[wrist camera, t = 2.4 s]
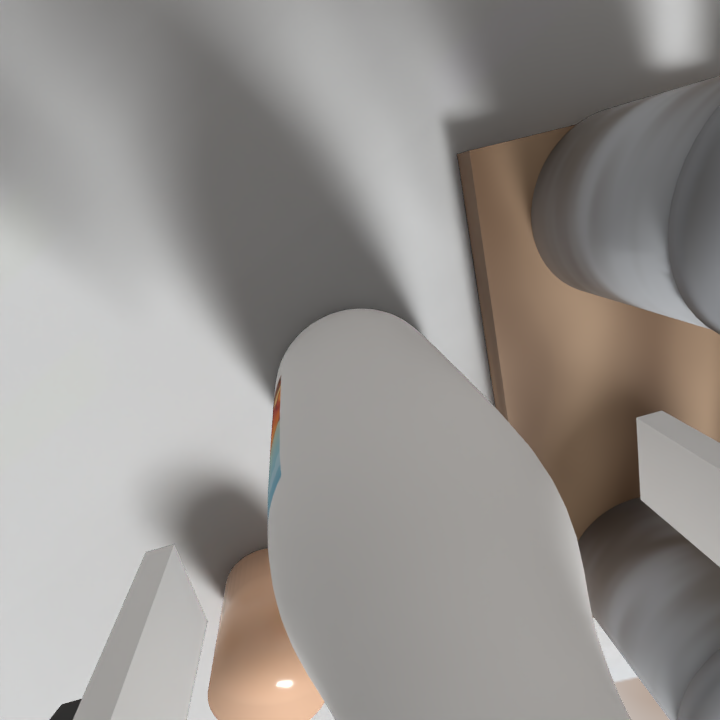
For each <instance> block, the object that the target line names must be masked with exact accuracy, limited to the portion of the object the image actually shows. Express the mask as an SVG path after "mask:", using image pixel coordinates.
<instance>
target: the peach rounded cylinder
mask: <svg viewBox="0 0 720 720" xmlns="http://www.w3.org/2000/svg"><path fill="white" fill-rule="evenodd" d="M208 702H209V706H210V709H211V711H212V712H213V714H214V716H215V717H216V718H217V719H218V720H310V719H311V718H312V717H313V716H314V715H315V714H316V713H317V712H318V711H319V710H320V708H321V707H322V705H323V704H324V700H323V699H322V697H321V695H320V694H319V692H318V690H317V689H316V687H315V686H314V684H313V682H312V681H311V679H310V678H309V676H308V674H307V673H306V671H305V669H304V667H303V665H302V664H301V662H300V660H299V658H298V656H297V654H296V652H295V651H294V649H293V647H292V644H291V642H290V639H289V637H288V635H287V632H286V630H285V627H284V624H283V622H282V619H281V616H280V613H279V609H278V605H277V602H276V598H275V594H274V590H273V585H272V578H271V571H270V563H269V554H268V548H266V549H262V550H258V551H255V552H253V553H251V554H249V555H247V556H245V557H244V558H242V559H241V560H240V561H239V562H238V563H237V564H236V565H235V566H234V567H233V568H232V570H231V571H230V573H229V575H228V578H227V580H226V586H225V592H224V598H223V604H222V610H221V616H220V622H219V628H218V634H217V640H216V646H215V652H214V658H213V665H212V671H211V677H210V683H209V689H208Z"/></svg>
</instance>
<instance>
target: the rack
mask: <svg viewBox="0 0 720 720" xmlns="http://www.w3.org/2000/svg"><path fill="white" fill-rule="evenodd" d="M457 157H458V163H459V170H460V176H461V183H462V190H463V196H464V203H465V209H466V216H467V223H468V229H469V236H470V242H471V249H472V255H473V262H474V269H475V275H476V282H477V288H478V295H479V302H480V308H481V315H482V321H483V328H484V335H485V341H486V348H487V354H488V361H489V367H490V374H491V381H492V387H493V394H494V400H495V407H496V409H497V410H498V411H499V412H500V413H501V414H502V415H503V416H504V418H505V419H506V420H507V421H508V422H509V423H510V425H511V426H512V427H513V428H514V429H515V430H516V431H517V433H518V434H519V435H520V436H521V437H522V438H523V439H524V441H525V442H526V443H527V444H528V445H529V446H530V448H531V449H532V450H533V452H534V453H535V455H536V456H537V458H538V459H539V461H540V462H541V464H542V465H543V467H544V468H545V470H546V471H547V473H548V474H549V476H550V477H551V479H552V480H553V482H554V484H555V486H556V488H557V490H558V492H559V494H560V496H561V498H562V500H563V502H564V504H565V506H566V509H567V512H568V514H569V517H570V520H571V523H572V526H573V529H574V531H575V534H576V537H577V541H578V546H579V550H580V555H581V559H582V564H583V568H584V574H585V580H586V585H587V591H588V597H589V602H590V608H591V613H592V617H594V618H595V619H596V621H597V622H598V623H599V625H600V626H601V627H602V629H603V630H604V631H605V633H606V634H607V635H608V637H609V638H610V640H611V641H612V642H613V644H614V645H615V646H616V648H617V649H618V650H619V652H620V653H621V654H622V656H623V657H624V658H625V660H626V661H627V663H628V664H629V665H630V667H631V668H632V669H633V671H634V672H635V673H636V675H637V676H638V677H639V679H640V680H641V682H642V683H643V684H644V686H645V687H646V688H647V690H648V691H649V692H650V694H651V695H652V696H653V698H654V699H655V700H656V702H657V703H658V705H659V706H660V707H661V709H662V710H663V711H664V713H665V714H666V715H667V717H668V718H669V719H670V720H720V567H719V566H718V565H717V564H715V563H714V562H713V561H712V560H711V559H710V558H708V557H707V556H706V555H705V554H704V553H703V552H701V551H700V550H699V549H698V548H697V547H696V546H694V545H693V544H692V543H691V542H690V541H689V540H687V539H686V538H685V537H684V536H683V535H682V534H680V533H679V532H678V531H677V530H676V529H675V528H673V527H672V526H671V525H670V524H669V523H667V522H666V521H665V520H664V519H663V518H662V517H660V516H659V515H658V514H657V513H656V512H655V511H653V510H652V509H651V508H650V507H649V506H648V505H646V504H645V503H644V502H643V501H642V500H641V498H640V479H639V460H638V441H637V422H636V418H637V417H640V416H644V415H648V414H651V413H655V412H658V411H664V412H665V413H667V414H669V415H671V416H673V417H674V418H676V419H678V420H680V421H682V422H683V423H685V424H687V425H689V426H690V427H692V428H694V429H696V430H698V431H699V432H701V433H703V434H705V435H707V436H708V437H710V438H712V439H714V440H715V441H717V442H719V443H720V76H717V77H714V78H711V79H707V80H704V81H700V82H697V83H694V84H690V85H687V86H684V87H680V88H677V89H673V90H670V91H667V92H663V93H660V94H656V95H653V96H650V97H646V98H643V99H640V100H636V101H633V102H629V103H626V104H623V105H619V106H616V107H613V108H609V109H606V110H603V111H600V112H598V113H595V114H593V115H591V116H589V117H587V118H586V119H584V120H583V121H581V122H580V123H578V124H577V125H573V126H569V127H564V128H560V129H556V130H552V131H548V132H544V133H540V134H536V135H532V136H527V137H523V138H519V139H515V140H511V141H507V142H503V143H499V144H495V145H491V146H486V147H482V148H478V149H474V150H470V151H466V152H463V153H460V154H457Z"/></svg>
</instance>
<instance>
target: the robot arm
mask: <svg viewBox="0 0 720 720" xmlns="http://www.w3.org/2000/svg"><path fill="white" fill-rule="evenodd" d="M636 422H637V441H638V460H639V479H640V498H641V500H642V501H643V502H644V503H645V504H646V505H648V506H649V507H650V508H651V509H652V510H653V511H655V512H656V513H657V514H658V515H659V516H660V517H662V518H663V519H664V520H665V521H666V522H667V523H669V524H670V525H671V526H672V527H673V528H675V529H676V530H677V531H678V532H679V533H680V534H682V535H683V536H684V537H685V538H686V539H687V540H689V541H690V542H691V543H692V544H693V545H694V546H696V547H697V548H698V549H699V550H700V551H701V552H703V553H704V554H705V555H706V556H707V557H708V558H710V559H711V560H712V561H713V562H714V563H715V564H717V565H718V566H719V567H720V443H719V442H717V441H715V440H714V439H712V438H710V437H708V436H707V435H705V434H703V433H701V432H699V431H698V430H696V429H694V428H692V427H690V426H689V425H687V424H685V423H683V422H682V421H680V420H678V419H676V418H674V417H673V416H671V415H669V414H667V413H665V412H664V411H658V412H655V413H651V414H648V415H644V416H640V417H637V418H636ZM207 622H208V621H207V619H206V617H205V614H204V612H203V610H202V607H201V605H200V603H199V600H198V598H197V596H196V594H195V591H194V589H193V587H192V584H191V582H190V580H189V577H188V575H187V573H186V570H185V568H184V566H183V563H182V561H181V559H180V556H179V554H178V552H177V550H176V547H175V545H174V544H173V545H169V546H166V547H162V548H158V549H155V550H151V551H147V552H146V553H145V555H144V558H143V560H142V562H141V564H140V567H139V569H138V571H137V574H136V576H135V578H134V580H133V583H132V585H131V587H130V590H129V592H128V594H127V597H126V599H125V601H124V603H123V606H122V608H121V610H120V613H119V615H118V617H117V619H116V622H115V624H114V626H113V629H112V631H111V633H110V636H109V638H108V640H107V642H106V645H105V647H104V649H103V652H102V654H101V656H100V658H99V661H98V663H97V665H96V668H95V670H94V672H93V675H92V677H91V679H90V681H89V684H88V686H87V688H86V691H85V693H84V695H83V697H82V699H79V700H76V701H72V702H69V703H65V704H62V705H61V706H60V707H59V709H58V710H57V711H56V712H55V714H54V715H53V716H52V717H51V719H50V720H187V716H188V711H189V706H190V702H191V697H192V692H193V688H194V683H195V678H196V674H197V669H198V664H199V660H200V655H201V650H202V646H203V641H204V636H205V632H206V627H207Z"/></svg>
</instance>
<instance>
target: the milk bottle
mask: <svg viewBox="0 0 720 720" xmlns="http://www.w3.org/2000/svg"><path fill="white" fill-rule="evenodd" d="M268 554H269V563H270V571H271V578H272V585H273V590H274V594H275V598H276V602H277V605H278V609H279V613H280V616H281V619H282V622H283V624H284V627H285V630H286V632H287V635H288V637H289V639H290V642H291V644H292V647H293V649H294V651H295V652H296V654H297V656H298V658H299V660H300V662H301V664H302V665H303V667H304V669H305V671H306V673H307V674H308V676H309V678H310V679H311V681H312V682H313V684H314V686H315V687H316V689H317V690H318V692H319V694H320V695H321V697H322V699H323V700H324V702H325V704H326V705H327V707H328V709H329V710H330V712H331V713H332V715H333V717H334V719H335V720H631V718H630V716H629V714H628V713H627V711H626V709H625V706H624V704H623V702H622V700H621V698H620V696H619V694H618V691H617V689H616V686H615V684H614V681H613V679H612V676H611V674H610V671H609V668H608V666H607V663H606V660H605V657H604V655H603V651H602V648H601V645H600V642H599V639H598V636H597V632H596V629H595V625H594V621H593V617H592V613H591V608H590V602H589V597H588V591H587V585H586V580H585V574H584V568H583V564H582V559H581V555H580V550H579V546H578V541H577V537H576V534H575V531H574V529H573V526H572V523H571V520H570V517H569V514H568V512H567V509H566V506H565V504H564V502H563V500H562V498H561V496H560V494H559V492H558V490H557V488H556V486H555V484H554V482H553V480H552V479H551V477H550V476H549V474H548V473H547V471H546V470H545V468H544V467H543V465H542V464H541V462H540V461H539V459H538V458H537V456H536V455H535V453H534V452H533V450H532V449H531V448H530V446H529V445H528V444H527V443H526V442H525V441H524V439H523V438H522V437H521V436H520V435H519V434H518V433H517V431H516V430H515V429H514V428H513V427H512V426H511V425H510V423H509V422H508V421H507V420H506V419H505V418H504V416H503V415H502V414H501V413H500V412H499V411H498V410H497V409H496V408H495V407H494V406H493V405H492V404H491V403H490V402H489V401H488V400H487V399H486V397H485V396H484V395H483V394H482V393H481V392H480V391H479V390H478V389H477V388H476V387H475V386H474V385H473V384H472V383H471V382H470V381H469V380H468V379H467V378H466V377H465V376H464V375H463V374H462V373H461V372H460V371H459V370H458V369H457V368H456V367H455V366H454V365H453V364H452V363H451V362H450V361H449V360H448V359H447V358H446V357H445V356H444V355H443V354H442V353H441V352H440V351H439V350H438V349H437V348H436V347H435V346H434V345H433V344H431V343H430V342H429V341H428V340H427V339H426V338H425V337H424V336H423V335H422V334H421V333H420V332H419V331H418V330H416V329H415V328H414V327H413V326H411V325H410V324H409V323H407V322H406V321H404V320H403V319H401V318H399V317H397V316H395V315H393V314H390V313H387V312H384V311H379V310H374V309H361V308H360V309H349V310H343V311H339V312H335V313H333V314H330V315H327V316H325V317H323V318H321V319H319V320H317V321H316V322H314V323H312V324H311V325H310V326H308V327H307V328H306V329H305V330H303V331H302V332H301V333H300V334H299V335H298V336H297V337H296V338H295V340H294V341H293V342H292V343H291V345H290V346H289V348H288V349H287V351H286V353H285V354H284V357H283V359H282V361H281V364H280V367H279V370H278V374H277V379H276V385H275V394H274V407H273V420H272V434H271V449H270V468H269V486H268Z"/></svg>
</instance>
